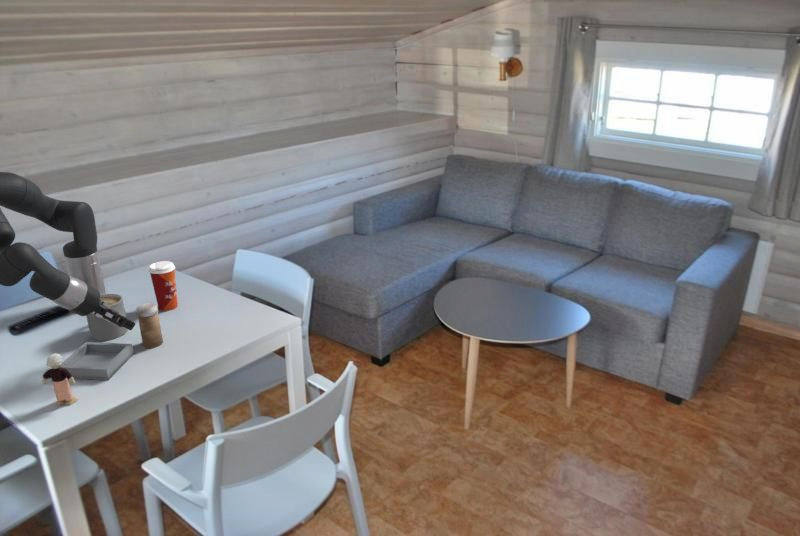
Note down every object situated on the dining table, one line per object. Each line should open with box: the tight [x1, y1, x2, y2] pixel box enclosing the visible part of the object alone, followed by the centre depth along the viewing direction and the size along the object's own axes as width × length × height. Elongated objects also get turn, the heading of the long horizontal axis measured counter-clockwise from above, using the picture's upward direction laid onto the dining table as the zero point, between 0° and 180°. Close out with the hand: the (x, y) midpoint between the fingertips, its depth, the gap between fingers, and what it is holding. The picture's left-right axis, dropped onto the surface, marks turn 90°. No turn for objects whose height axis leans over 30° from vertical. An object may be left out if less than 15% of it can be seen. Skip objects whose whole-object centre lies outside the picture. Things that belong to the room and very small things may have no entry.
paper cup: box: [148, 260, 178, 312], centre depth 196 cm, size 8×8×14 cm
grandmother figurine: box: [41, 352, 79, 406], centre depth 148 cm, size 8×4×13 cm, turn 98°
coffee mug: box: [85, 293, 129, 342], centre depth 183 cm, size 13×10×10 cm
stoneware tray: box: [61, 341, 135, 381], centre depth 166 cm, size 13×13×3 cm
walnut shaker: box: [135, 302, 164, 349], centre depth 175 cm, size 5×5×11 cm
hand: (124, 321), depth 169 cm, fingers open, 8 cm apart
